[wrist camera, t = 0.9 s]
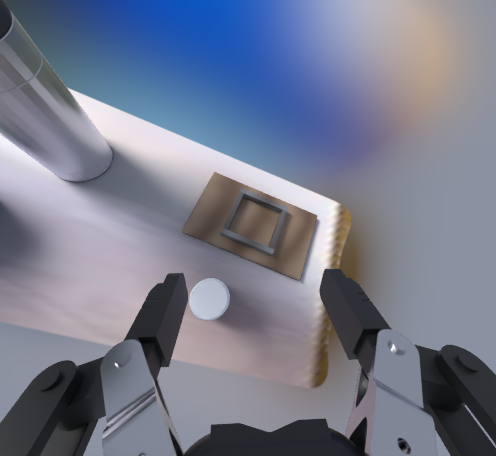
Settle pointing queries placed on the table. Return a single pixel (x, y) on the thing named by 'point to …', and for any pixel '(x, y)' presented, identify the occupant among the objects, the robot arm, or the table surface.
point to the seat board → (252, 225)
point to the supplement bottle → (209, 299)
